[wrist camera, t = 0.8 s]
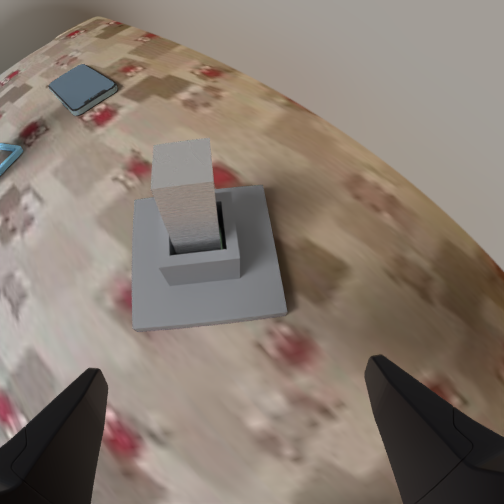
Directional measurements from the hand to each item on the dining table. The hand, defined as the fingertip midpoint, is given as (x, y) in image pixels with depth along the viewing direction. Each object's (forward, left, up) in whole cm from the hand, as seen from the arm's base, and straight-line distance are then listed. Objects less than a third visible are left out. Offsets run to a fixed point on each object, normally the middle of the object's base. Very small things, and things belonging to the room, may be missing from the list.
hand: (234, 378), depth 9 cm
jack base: (+8, +7, -14) cm, 18 cm away
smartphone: (+24, +39, -15) cm, 49 cm away
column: (+9, +7, -13) cm, 17 cm away
